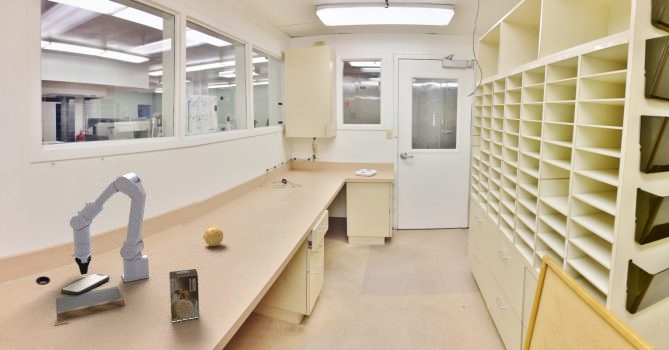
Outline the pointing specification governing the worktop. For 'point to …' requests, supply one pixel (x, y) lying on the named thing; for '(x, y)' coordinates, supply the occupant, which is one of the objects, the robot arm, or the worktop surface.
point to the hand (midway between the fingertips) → (84, 273)
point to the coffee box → (184, 294)
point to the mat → (87, 298)
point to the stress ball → (213, 236)
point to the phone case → (85, 284)
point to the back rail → (90, 308)
